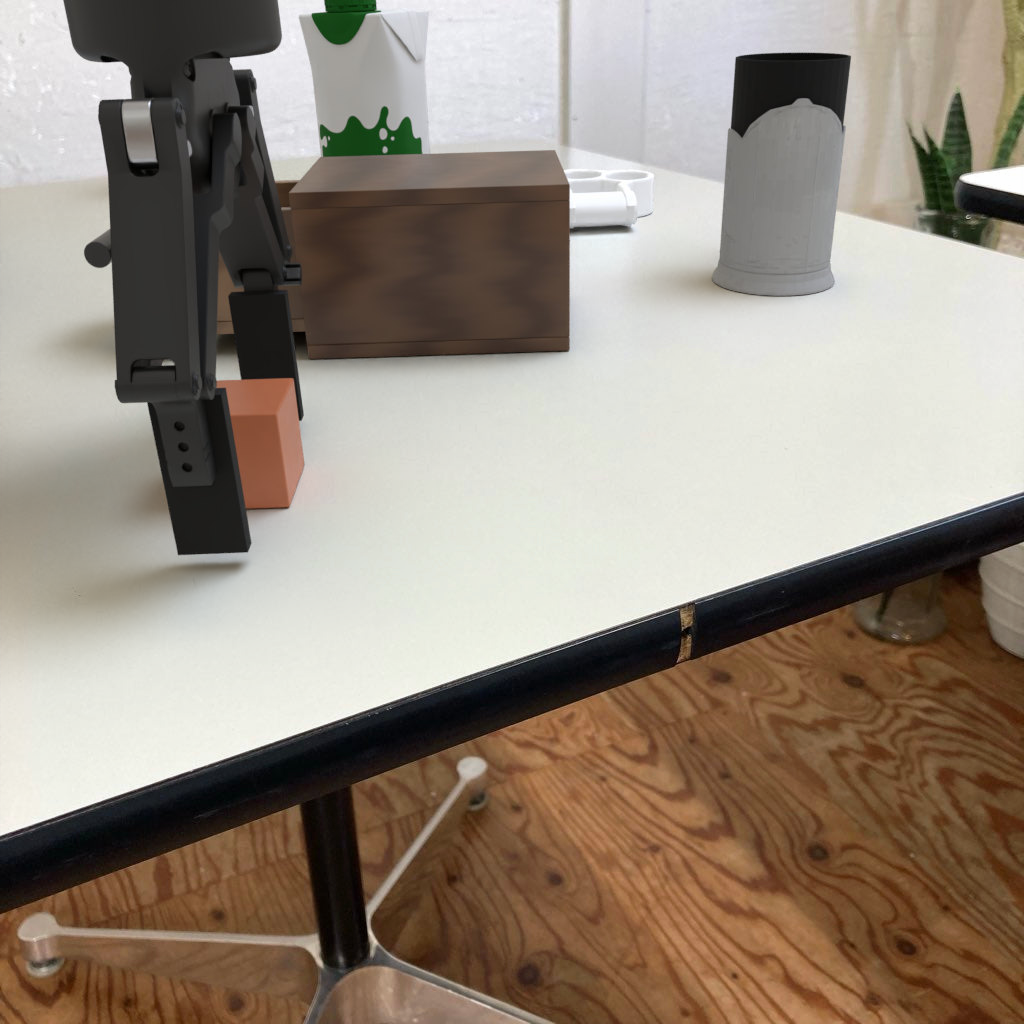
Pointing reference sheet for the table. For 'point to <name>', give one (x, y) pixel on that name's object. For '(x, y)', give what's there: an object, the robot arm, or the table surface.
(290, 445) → the block
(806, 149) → the glass holder
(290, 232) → the drawer
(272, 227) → the robot arm
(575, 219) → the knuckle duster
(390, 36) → the milk carton
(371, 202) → the cabinet
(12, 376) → the table surface
